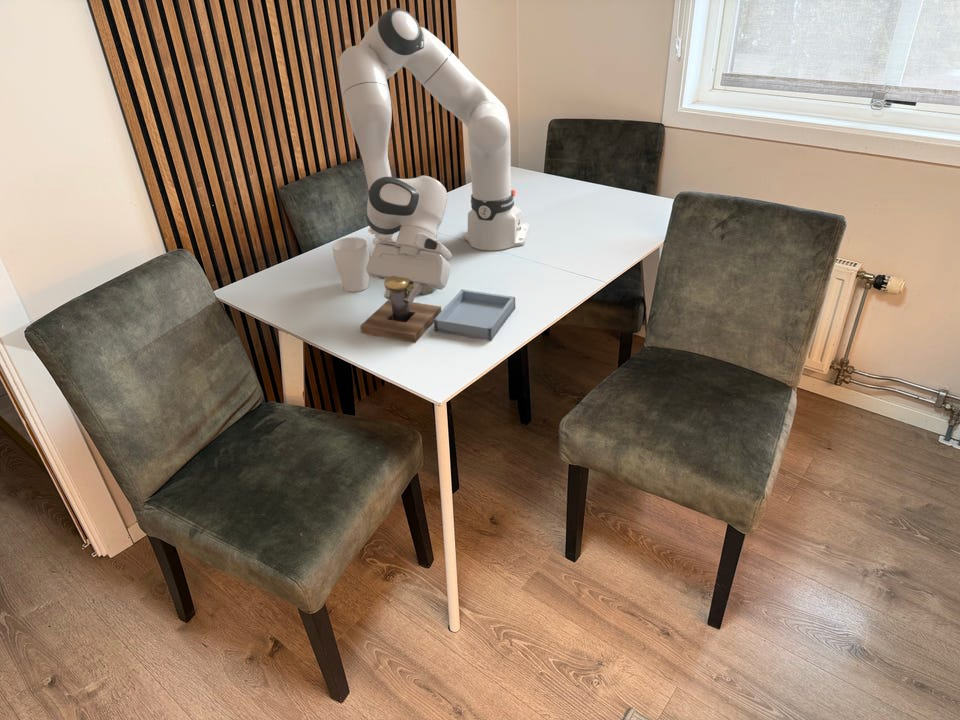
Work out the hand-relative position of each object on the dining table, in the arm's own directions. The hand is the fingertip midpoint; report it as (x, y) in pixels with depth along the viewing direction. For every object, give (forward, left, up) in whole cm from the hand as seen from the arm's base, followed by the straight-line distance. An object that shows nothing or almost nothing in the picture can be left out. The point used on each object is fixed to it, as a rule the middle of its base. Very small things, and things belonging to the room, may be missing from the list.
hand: (398, 300), depth 154 cm
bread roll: (-19, -4, -7) cm, 21 cm away
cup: (-15, -21, -7) cm, 26 cm away
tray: (-8, +16, -6) cm, 19 cm away
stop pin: (-1, 0, -6) cm, 6 cm away
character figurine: (-34, -22, -7) cm, 41 cm away
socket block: (-1, 0, -6) cm, 6 cm away
